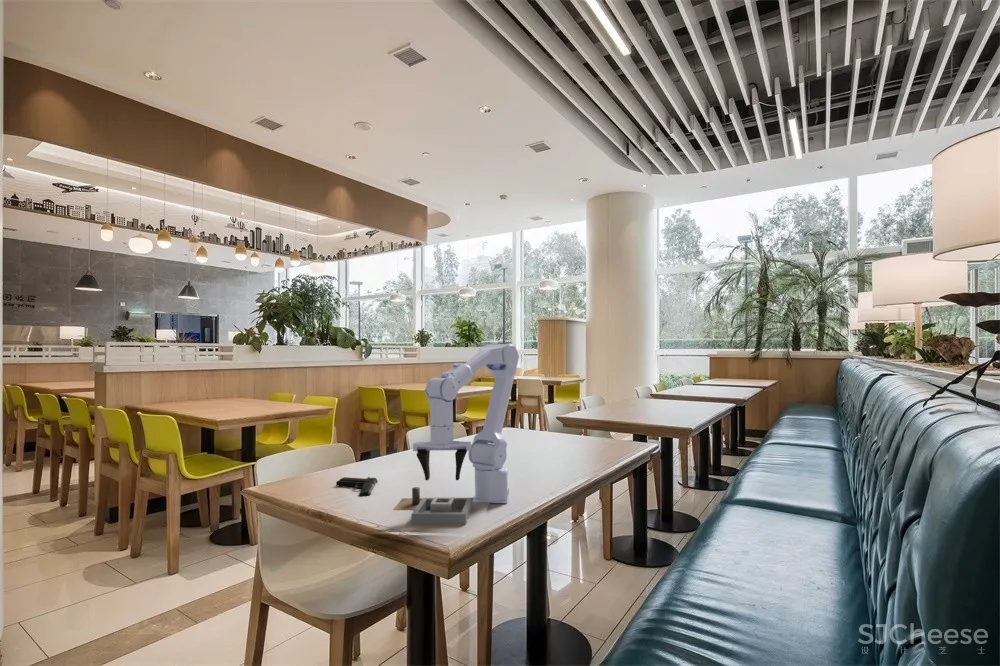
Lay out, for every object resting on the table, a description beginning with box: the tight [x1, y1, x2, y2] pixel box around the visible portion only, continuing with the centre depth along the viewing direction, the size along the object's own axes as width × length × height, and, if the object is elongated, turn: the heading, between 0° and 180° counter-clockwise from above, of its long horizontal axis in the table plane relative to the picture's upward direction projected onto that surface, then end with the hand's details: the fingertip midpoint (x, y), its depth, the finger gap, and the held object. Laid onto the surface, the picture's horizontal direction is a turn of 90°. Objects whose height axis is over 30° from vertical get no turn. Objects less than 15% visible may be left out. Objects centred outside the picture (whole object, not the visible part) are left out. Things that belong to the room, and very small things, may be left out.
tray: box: [411, 497, 473, 526], centre depth 124 cm, size 13×13×3 cm
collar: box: [430, 496, 456, 512], centre depth 124 cm, size 5×5×4 cm
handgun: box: [335, 476, 378, 497], centre depth 150 cm, size 2×18×12 cm
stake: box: [392, 486, 430, 511], centre depth 134 cm, size 10×10×5 cm
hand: (442, 479), depth 125 cm, fingers open, 7 cm apart
